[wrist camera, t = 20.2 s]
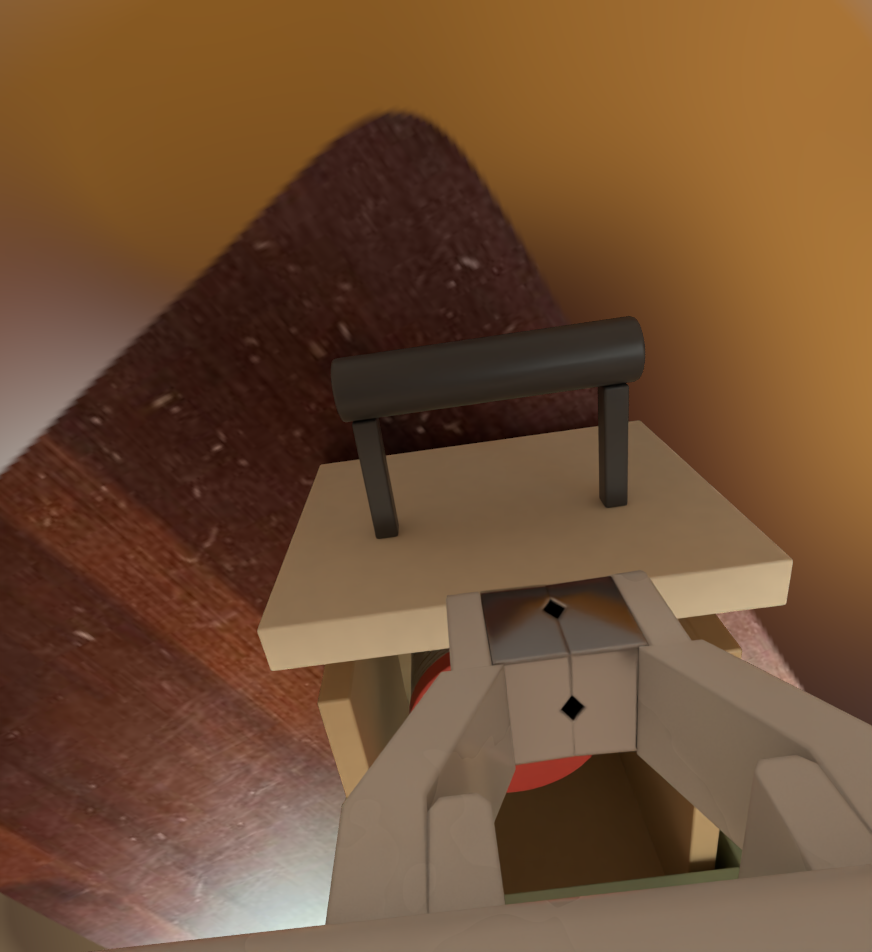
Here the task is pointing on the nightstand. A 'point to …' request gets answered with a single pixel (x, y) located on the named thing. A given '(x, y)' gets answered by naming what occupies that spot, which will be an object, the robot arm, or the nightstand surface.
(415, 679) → the tin
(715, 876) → the cabinet
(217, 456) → the nightstand surface
